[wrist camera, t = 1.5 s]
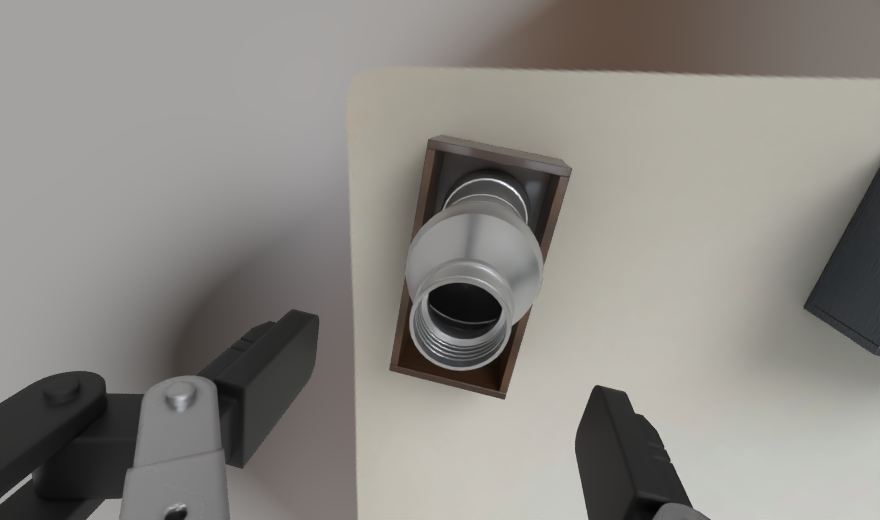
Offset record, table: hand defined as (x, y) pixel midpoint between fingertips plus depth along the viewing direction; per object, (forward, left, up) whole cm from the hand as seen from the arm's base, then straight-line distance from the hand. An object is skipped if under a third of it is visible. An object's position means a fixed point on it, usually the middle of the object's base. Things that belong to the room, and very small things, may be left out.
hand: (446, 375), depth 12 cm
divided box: (+4, 0, -23) cm, 24 cm away
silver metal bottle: (0, 0, -23) cm, 23 cm away
